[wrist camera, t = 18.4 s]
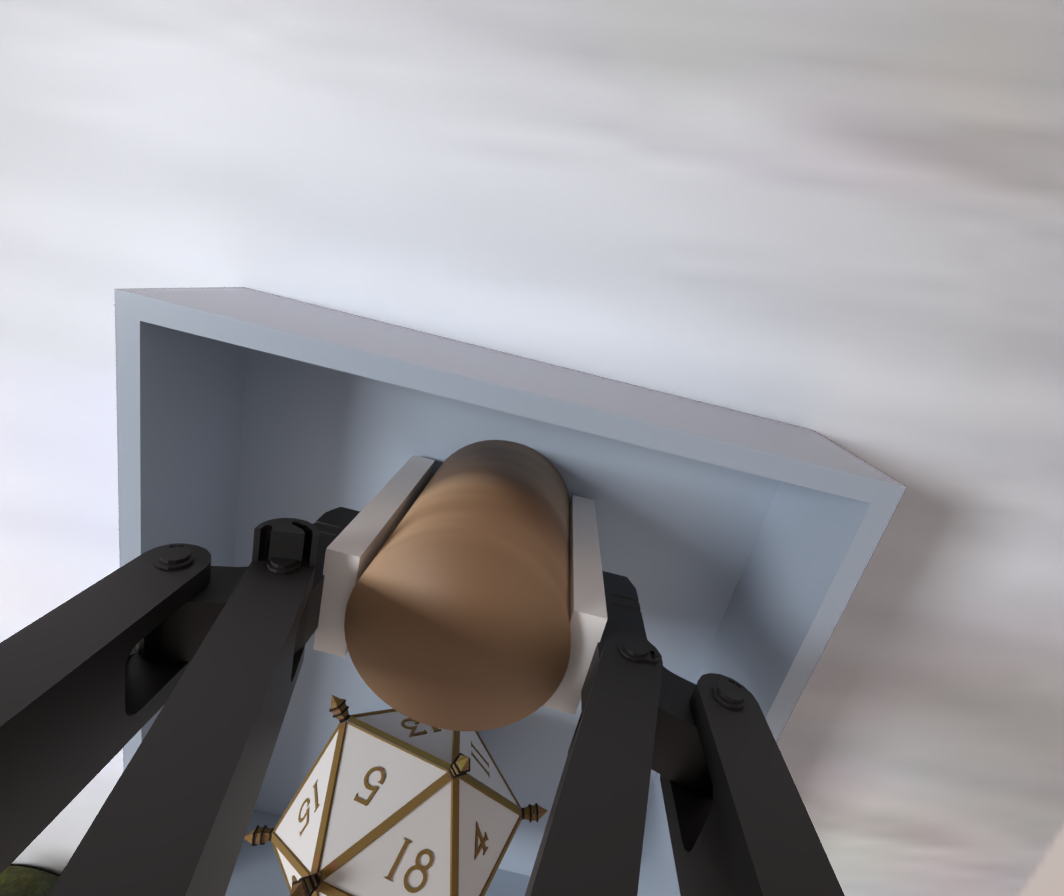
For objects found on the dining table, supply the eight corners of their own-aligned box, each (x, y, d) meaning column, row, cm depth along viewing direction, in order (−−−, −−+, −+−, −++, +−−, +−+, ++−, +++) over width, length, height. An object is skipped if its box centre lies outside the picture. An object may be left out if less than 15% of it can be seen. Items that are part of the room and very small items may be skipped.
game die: (489, 652, 24) (641, 837, 16) (391, 814, 24) (500, 1086, 16) (316, 601, 19) (422, 844, 11) (184, 810, 18) (194, 1224, 10)
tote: (213, 794, 24) (126, 920, 19) (243, 287, 17) (114, 288, 12) (613, 891, 24) (624, 1040, 19) (812, 430, 17) (906, 487, 12)
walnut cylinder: (416, 552, 19) (331, 701, 12) (441, 423, 17) (359, 512, 10) (550, 586, 19) (539, 753, 12) (587, 460, 17) (598, 572, 11)
